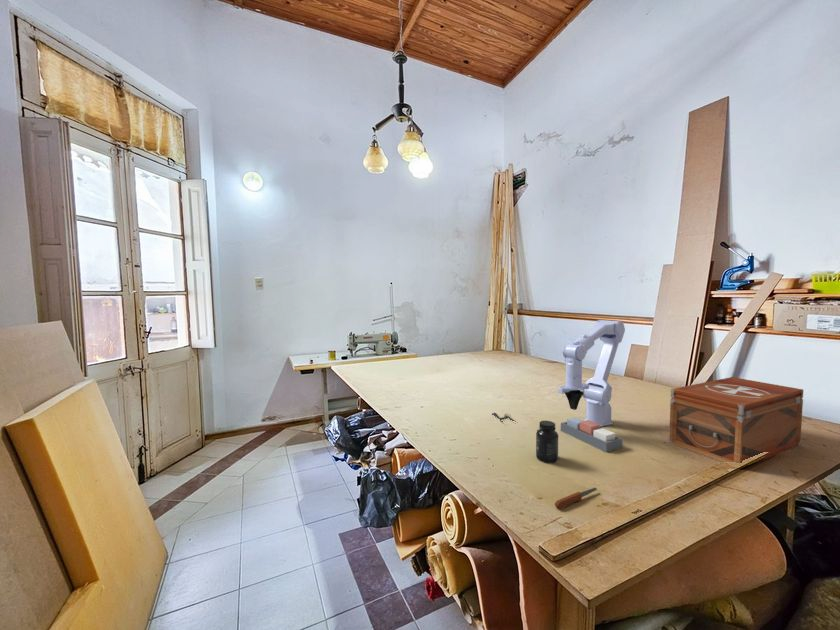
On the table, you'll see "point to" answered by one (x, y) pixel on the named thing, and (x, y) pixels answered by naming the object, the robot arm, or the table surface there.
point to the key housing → (592, 438)
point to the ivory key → (604, 434)
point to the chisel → (572, 498)
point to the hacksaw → (502, 417)
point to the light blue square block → (574, 422)
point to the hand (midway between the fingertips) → (573, 408)
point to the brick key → (589, 426)
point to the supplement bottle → (547, 442)
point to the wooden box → (735, 418)
